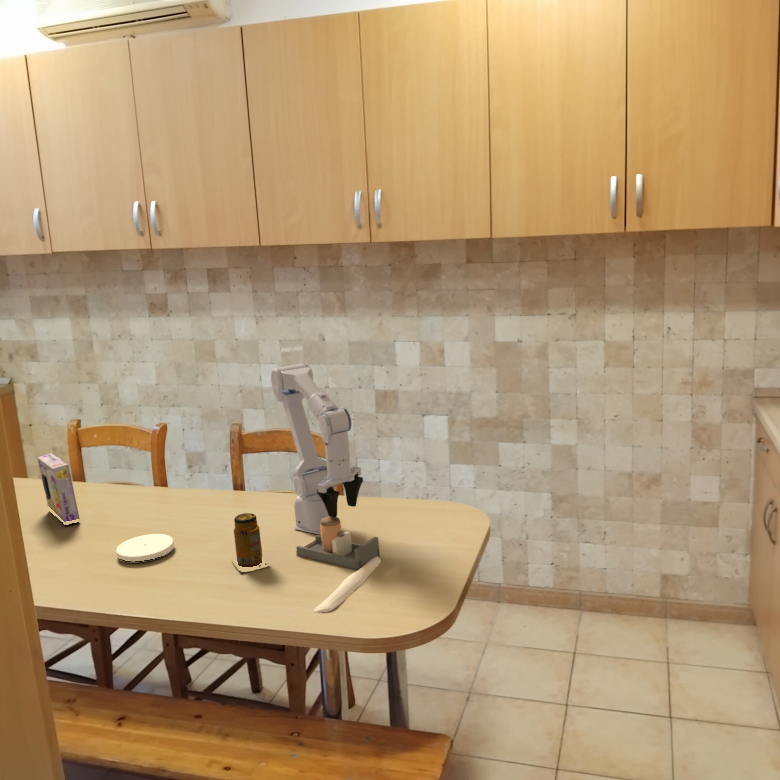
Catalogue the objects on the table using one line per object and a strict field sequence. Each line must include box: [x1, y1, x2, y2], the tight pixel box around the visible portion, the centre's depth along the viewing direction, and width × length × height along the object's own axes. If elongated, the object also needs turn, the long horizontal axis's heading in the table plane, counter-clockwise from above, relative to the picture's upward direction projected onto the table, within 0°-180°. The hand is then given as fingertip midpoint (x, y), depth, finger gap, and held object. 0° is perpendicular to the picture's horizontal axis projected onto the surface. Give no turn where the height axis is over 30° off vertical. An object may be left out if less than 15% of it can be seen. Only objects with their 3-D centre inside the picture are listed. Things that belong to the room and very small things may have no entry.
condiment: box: [233, 512, 269, 567], centre depth 190 cm, size 7×8×12 cm
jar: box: [320, 516, 342, 554], centre depth 192 cm, size 5×5×9 cm
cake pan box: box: [37, 452, 81, 522], centre depth 231 cm, size 19×5×18 cm, turn 36°
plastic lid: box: [115, 533, 175, 562], centre depth 202 cm, size 14×14×2 cm
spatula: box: [313, 557, 382, 613], centre depth 177 cm, size 28×4×2 cm, turn 153°
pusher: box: [332, 530, 353, 556], centre depth 191 cm, size 1×6×6 cm, turn 146°
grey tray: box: [295, 534, 381, 571], centre depth 192 cm, size 19×8×5 cm, turn 56°
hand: (342, 511), depth 196 cm, fingers open, 7 cm apart
